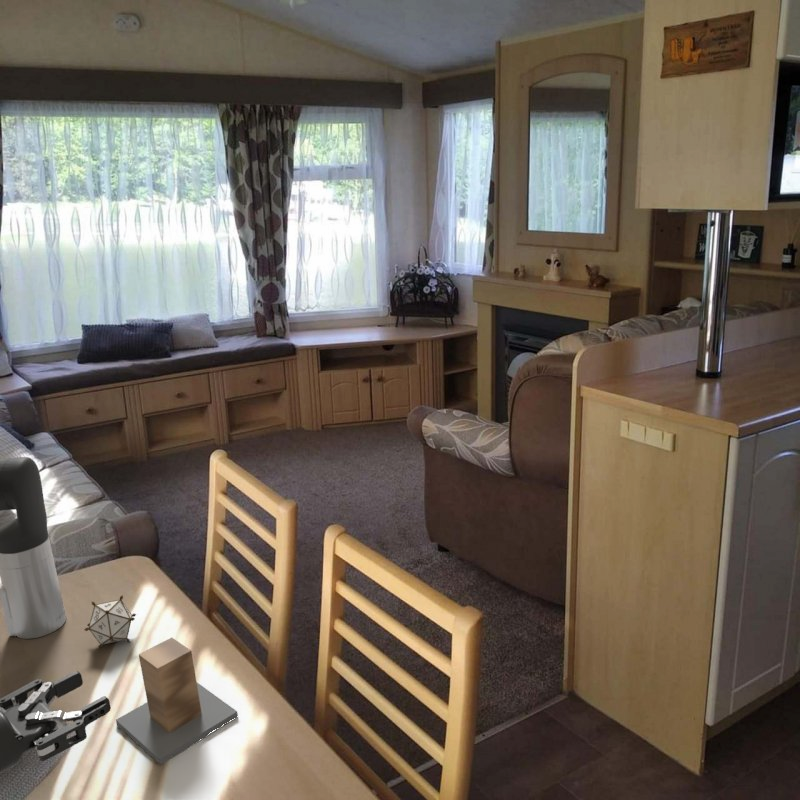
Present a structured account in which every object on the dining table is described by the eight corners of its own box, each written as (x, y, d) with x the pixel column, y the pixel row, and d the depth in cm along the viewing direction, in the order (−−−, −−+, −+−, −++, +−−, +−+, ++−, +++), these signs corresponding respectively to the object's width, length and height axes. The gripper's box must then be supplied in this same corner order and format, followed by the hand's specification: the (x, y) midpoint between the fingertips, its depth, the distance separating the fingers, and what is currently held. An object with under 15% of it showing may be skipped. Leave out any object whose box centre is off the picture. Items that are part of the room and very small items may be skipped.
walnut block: (169, 733, 117) (157, 668, 114) (150, 717, 120) (138, 654, 117) (201, 713, 120) (191, 650, 117) (182, 699, 124) (171, 637, 121)
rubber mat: (160, 765, 112) (159, 759, 112) (116, 725, 121) (115, 719, 120) (238, 717, 121) (237, 711, 120) (191, 683, 130) (191, 677, 129)
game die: (122, 664, 143) (114, 643, 135) (79, 646, 143) (69, 624, 136) (148, 619, 148) (142, 596, 140) (107, 603, 149) (98, 579, 141)
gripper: (-15, 757, 94) (113, 687, 105) (-55, 706, 104) (67, 647, 115) (-1, 807, 97) (123, 734, 107) (-41, 753, 106) (77, 691, 117)
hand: (94, 689), depth 111 cm, fingers open, 8 cm apart
